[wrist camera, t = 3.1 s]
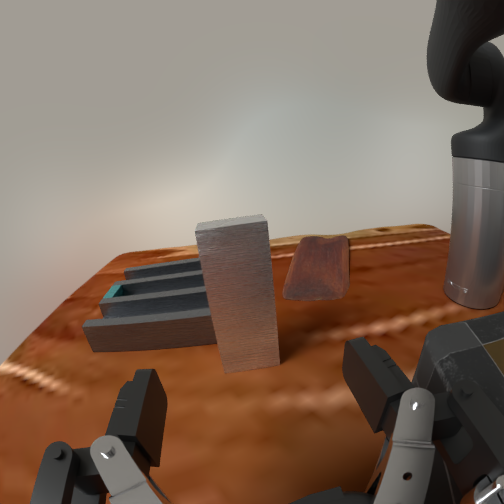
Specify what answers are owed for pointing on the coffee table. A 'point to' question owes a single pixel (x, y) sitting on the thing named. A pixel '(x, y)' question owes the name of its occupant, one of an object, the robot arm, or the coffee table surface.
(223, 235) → the panel
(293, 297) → the wooden tablet
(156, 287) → the rack
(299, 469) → the coffee table surface
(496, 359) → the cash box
